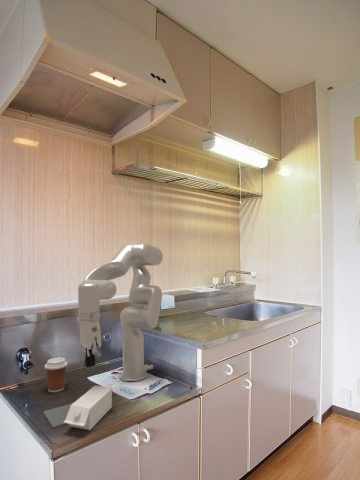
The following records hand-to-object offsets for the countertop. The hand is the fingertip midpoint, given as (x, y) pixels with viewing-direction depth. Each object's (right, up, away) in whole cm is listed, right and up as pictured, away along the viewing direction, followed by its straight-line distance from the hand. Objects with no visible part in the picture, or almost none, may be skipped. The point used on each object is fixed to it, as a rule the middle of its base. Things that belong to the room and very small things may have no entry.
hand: (90, 365), depth 121 cm
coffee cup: (-19, -16, +16) cm, 30 cm away
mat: (-5, -15, -5) cm, 16 cm away
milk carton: (+5, -11, -1) cm, 12 cm away
